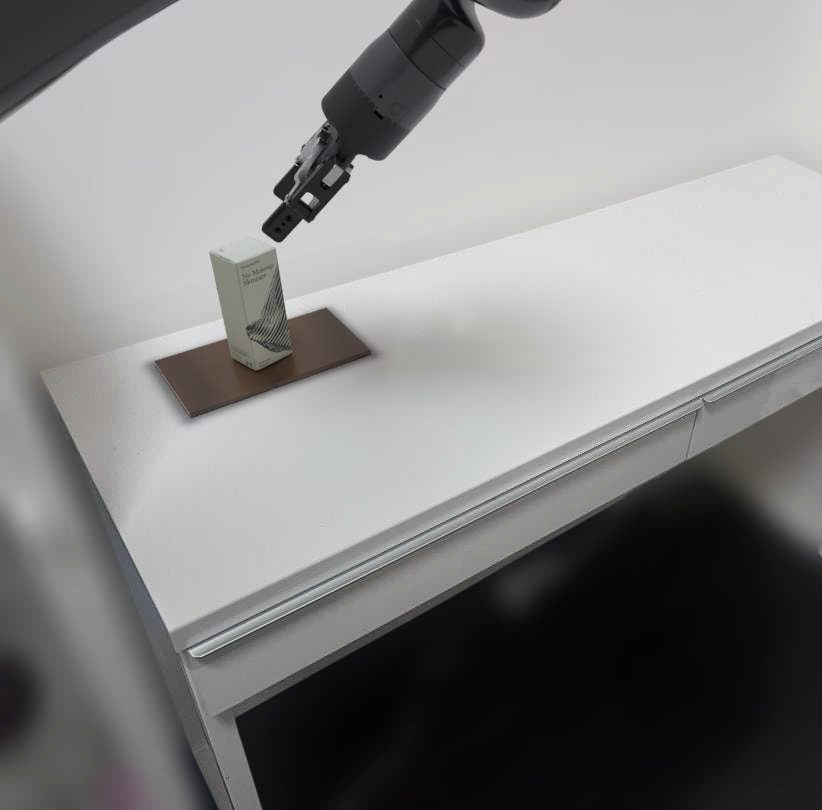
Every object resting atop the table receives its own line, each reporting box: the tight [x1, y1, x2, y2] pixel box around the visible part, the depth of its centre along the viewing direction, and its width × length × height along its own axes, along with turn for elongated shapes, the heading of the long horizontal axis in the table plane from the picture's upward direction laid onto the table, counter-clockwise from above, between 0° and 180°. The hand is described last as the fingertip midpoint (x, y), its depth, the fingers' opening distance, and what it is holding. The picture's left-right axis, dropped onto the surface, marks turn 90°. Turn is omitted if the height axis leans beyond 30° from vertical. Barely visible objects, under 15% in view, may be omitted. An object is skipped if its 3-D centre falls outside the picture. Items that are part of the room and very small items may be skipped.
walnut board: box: [153, 307, 372, 418], centre depth 88 cm, size 20×11×1 cm, turn 128°
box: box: [208, 235, 292, 371], centre depth 84 cm, size 5×4×13 cm
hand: (275, 216), depth 79 cm, fingers open, 8 cm apart
